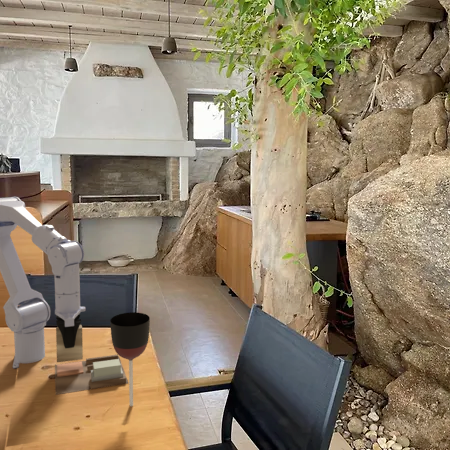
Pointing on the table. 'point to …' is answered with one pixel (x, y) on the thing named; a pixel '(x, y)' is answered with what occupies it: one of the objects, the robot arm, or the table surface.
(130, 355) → the wineglass
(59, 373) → the walnut rack
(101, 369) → the offcut upper
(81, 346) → the tan wooden block
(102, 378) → the offcut lower
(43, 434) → the table surface
